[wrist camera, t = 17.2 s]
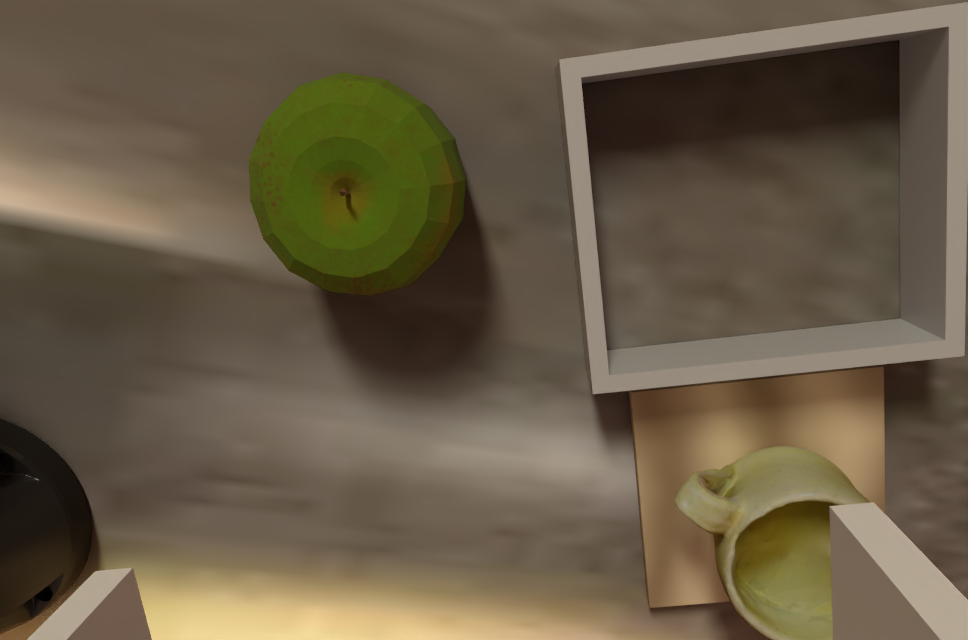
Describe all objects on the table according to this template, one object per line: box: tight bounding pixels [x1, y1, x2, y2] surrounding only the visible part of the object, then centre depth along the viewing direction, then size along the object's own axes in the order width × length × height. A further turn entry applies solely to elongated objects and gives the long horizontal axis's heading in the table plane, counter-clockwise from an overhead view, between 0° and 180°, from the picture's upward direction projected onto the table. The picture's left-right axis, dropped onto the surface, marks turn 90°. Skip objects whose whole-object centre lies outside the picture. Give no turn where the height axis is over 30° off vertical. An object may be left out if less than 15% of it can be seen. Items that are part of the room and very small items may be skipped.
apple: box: [249, 73, 466, 296], centre depth 39 cm, size 11×11×11 cm
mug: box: [675, 446, 871, 640], centre depth 43 cm, size 12×10×10 cm
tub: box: [556, 2, 968, 394], centre depth 41 cm, size 20×18×5 cm
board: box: [629, 365, 885, 608], centre depth 47 cm, size 15×15×1 cm
